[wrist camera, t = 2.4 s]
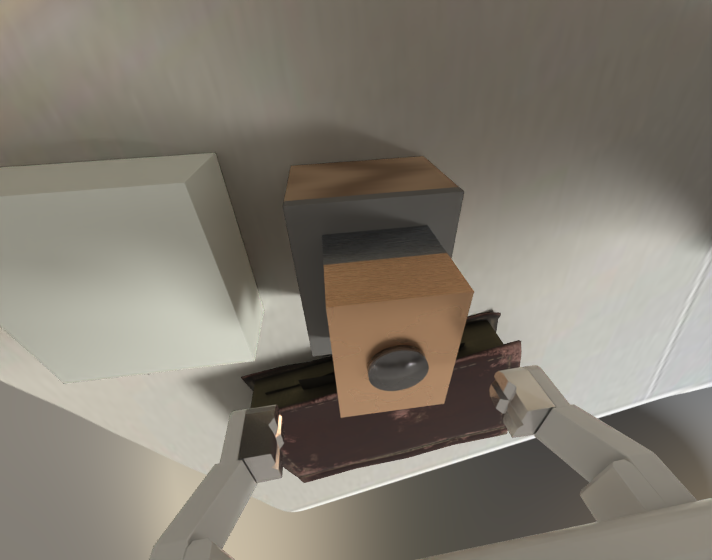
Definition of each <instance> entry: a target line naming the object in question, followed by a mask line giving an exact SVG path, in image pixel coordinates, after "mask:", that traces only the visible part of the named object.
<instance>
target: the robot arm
mask: <svg viewBox="0 0 712 560" xmlns="http://www.w3.org/2000/svg"><path fill="white" fill-rule="evenodd" d="M494 377H495V379H496V380H495V381H494V382H493V383H492V384H491V386H490V389H489V390H490V397H491V400H492V402H493V404H494V406H495V408H496V409H497V410H499V411H500V412H501V413H503V418H502V421H503V422H504V424H505V426H506V428H507V429H508V431H509V433H510V435H511V436H512V438H514V437H521V436H528V435H534V436H535V437H536V438H537V439H539V440H540V441H541V442H542V443H543V444H545V445H546V446H547V447H548V448H549V449H550V450H552V451H553V452H554V453H555V454H556V455H558V456H559V457H560V458H561V459H562V460H564V461H565V462H566V463H567V464H568V465H570V466H571V467H572V468H573V469H574V470H575V471H577V472H578V473H579V474H580V475H581V476H583V477H584V478H585V479H586V480H587V481H588V482H590V483H588V485H586V486H585V487H584V488H583V489H582V490H581V493H580V496H581V497H582V499H583V501H584V502H585V504H586V505H587V507H588V508H589V510H590V512H591V513H592V515H593V516H594V518H595V519H596V521H597V522H595V523H590V524H586V525H581V526H575V527H571V528H566V529H561V530H556V531H551V532H547V533H542V534H537V535H532V536H528V537H523V538H518V539H513V540H509V541H503V542H499V543H494V544H489V545H485V546H479V547H475V548H470V549H465V550H460V551H456V552H451V553H446V554H441V555H436V556H432V557H427V558H422V559H418V560H712V498H710V499H705V500H700V501H697V500H696V499H695V498H694V497H693V496H692V494H691V493H690V492H689V491H688V490H687V489H686V488H685V487H684V486H683V485H682V483H681V482H680V481H679V480H678V479H677V478H676V477H675V476H674V475H673V473H672V472H671V471H670V470H669V469H668V468H667V467H666V466H665V465H664V463H663V462H662V461H661V460H660V459H659V458H658V457H657V456H656V455H655V453H653V452H652V451H650V450H648V449H647V448H645V447H644V446H642V445H640V444H638V443H637V442H635V441H634V440H632V439H630V438H629V437H627V436H625V435H624V434H622V433H620V432H619V431H617V430H615V429H614V428H612V427H611V426H609V425H607V424H606V423H604V422H602V421H601V420H599V419H597V418H596V417H594V416H592V415H591V414H589V413H587V412H586V411H584V410H582V409H581V408H579V407H578V406H576V405H570V404H569V403H568V401H567V400H566V399H565V398H564V396H563V395H562V394H561V393H560V391H559V390H558V389H557V387H556V386H555V385H554V384H553V382H552V381H551V380H550V379H549V377H548V376H547V375H546V374H545V372H544V371H543V370H542V369H541V368H540V367H539V366H536V365H532V366H526V367H519V368H513V369H507V370H501V371H498V372H496V373H495V376H494ZM283 444H284V423H283V419H282V416H280V415H279V408H278V405H271V406H264V407H258V408H251V409H243V410H237V411H232V413H231V415H230V417H229V422H228V426H227V431H226V436H225V440H224V445H223V450H222V455H221V459H220V463H219V464H215V465H214V466H213V468H212V469H211V470H210V472H209V473H208V474H207V476H206V477H205V478H204V480H203V481H202V482H201V484H200V485H199V486H198V488H197V489H196V490H195V492H194V493H193V494H192V496H191V497H190V498H189V500H188V501H187V502H186V504H185V505H184V506H183V507H182V509H181V510H180V511H179V513H178V514H177V515H176V517H175V518H174V520H173V521H172V522H171V523H170V525H169V526H168V528H167V529H166V530H165V531H164V533H163V534H162V535H161V537H160V538H159V540H158V541H157V542H156V543H155V545H154V546H153V549H152V552H151V555H150V558H149V560H234V558H232V557H231V556H230V555H229V554H227V553H226V552H225V551H224V550H222V548H223V546H224V544H225V542H226V541H227V539H228V537H229V535H230V533H231V531H232V530H233V528H234V526H235V524H236V522H237V521H238V519H239V517H240V515H241V513H242V511H243V510H244V508H245V506H246V504H247V502H248V500H249V499H250V497H251V495H252V493H253V491H254V489H255V488H256V486H257V484H256V483H259V482H264V481H269V480H274V479H279V478H282V471H283V455H282V452H281V450H280V449H281V447H282V446H283Z"/></svg>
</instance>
